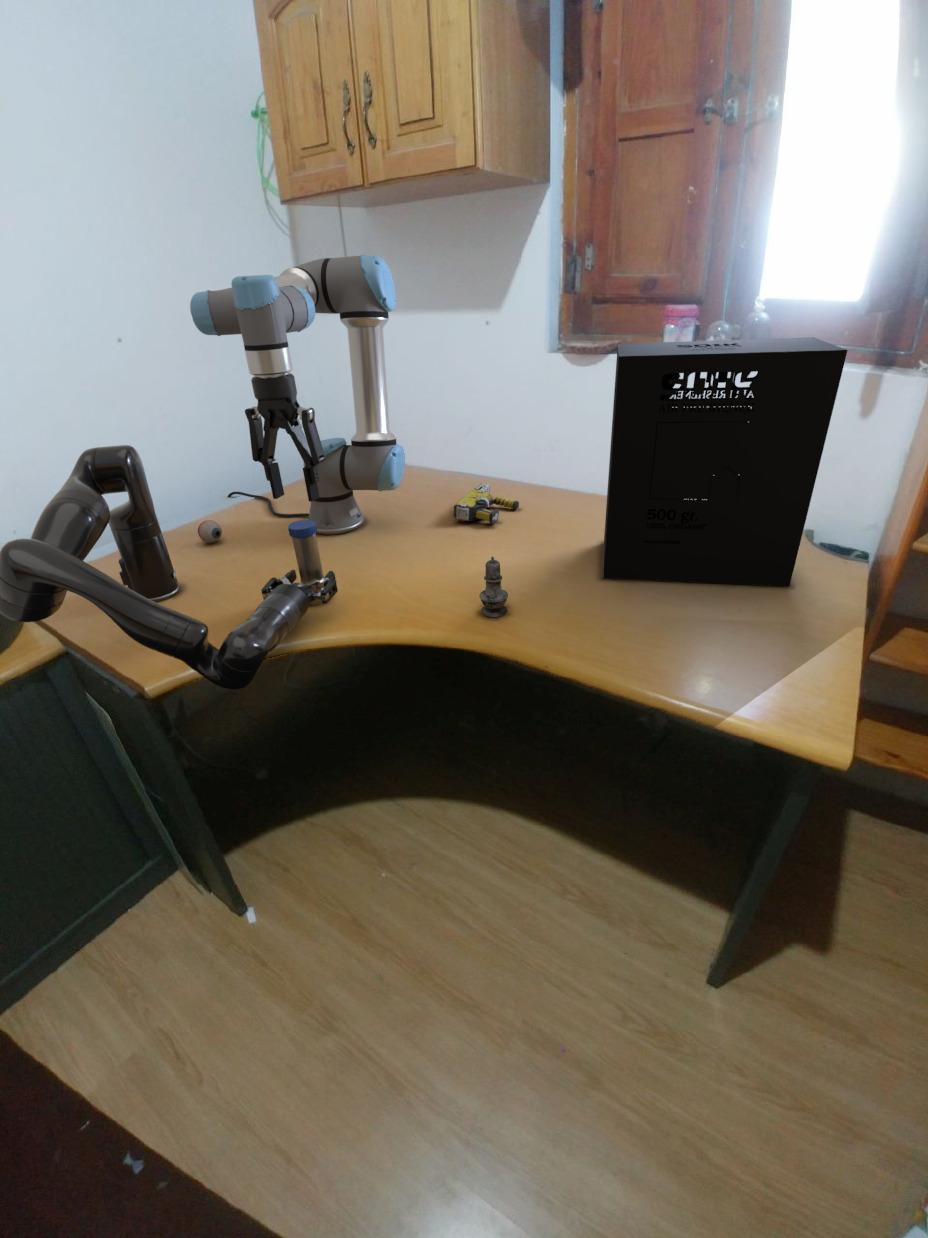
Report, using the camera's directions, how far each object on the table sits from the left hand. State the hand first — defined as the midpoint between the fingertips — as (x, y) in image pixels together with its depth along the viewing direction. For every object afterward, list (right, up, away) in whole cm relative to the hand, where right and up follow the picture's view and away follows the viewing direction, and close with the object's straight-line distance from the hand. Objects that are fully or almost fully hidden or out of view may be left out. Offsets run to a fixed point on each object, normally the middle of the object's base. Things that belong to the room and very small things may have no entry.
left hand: (313, 574), depth 128 cm
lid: (-1, +9, -6) cm, 11 cm away
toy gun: (+40, +21, +45) cm, 64 cm away
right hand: (-1, +14, -9) cm, 17 cm away
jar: (0, -5, +2) cm, 6 cm away
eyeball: (-36, +11, +35) cm, 51 cm away
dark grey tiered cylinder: (+38, -8, -6) cm, 39 cm away
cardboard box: (+83, +3, +9) cm, 84 cm away
